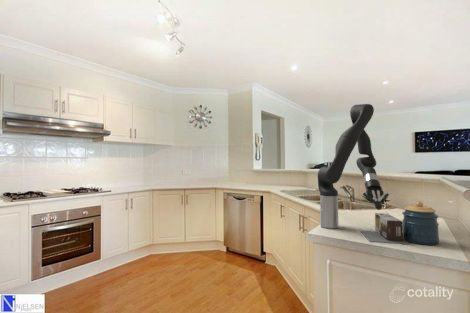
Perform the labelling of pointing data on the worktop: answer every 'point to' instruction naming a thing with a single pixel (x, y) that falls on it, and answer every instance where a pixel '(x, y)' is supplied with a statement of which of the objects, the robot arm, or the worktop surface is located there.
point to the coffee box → (389, 227)
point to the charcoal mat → (379, 237)
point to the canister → (420, 224)
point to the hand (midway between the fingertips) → (379, 208)
